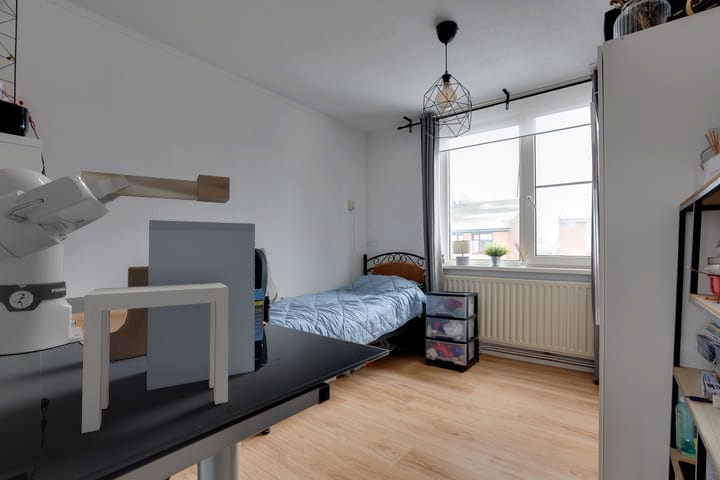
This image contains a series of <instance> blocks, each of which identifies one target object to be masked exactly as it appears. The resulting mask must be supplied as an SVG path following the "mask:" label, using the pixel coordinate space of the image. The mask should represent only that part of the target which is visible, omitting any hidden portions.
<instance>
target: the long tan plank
mask: <svg viewBox="0 0 720 480" xmlns="http://www.w3.org/2000/svg"><path fill="white" fill-rule="evenodd" d="M80 173H81V176H80V177H81V178H82V179H83V180H84V181H85V182H86V183H87V184H92V183H95V182H98V181H103V180H108V179H113V178H115V177H118V176H124V177H125V178H126V180H127V181H128V183H129V187H128V188H125V189H123V190H120V191H116V192H113V193H110V194H108V195H116V196H120V197H134V198H150V199H151V198H153V199H166V200H179V201H180V200H181V201H182V200H183V201H195V202H199V203H201V202H202V203H216V204H217V203H219V204H226V203H227V202H229V201H230V197H231V195H230V189H231V188H230V186H231V185H230V184H231V183H230V179H231V178H230V176H229V177H227V176H226V177H225V176H218V175H207V174H198V176H197V178H196V180H188V179H175V178H166V177H155V176H154V177H153V176H145V175H143V176H142V175H134V174H133V175H132V174H131V175H130V174H122V173H111V172H110V173H109V172H99V171H88V170H81V172H80Z"/></svg>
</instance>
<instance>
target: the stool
mask: <svg viewBox="0 0 720 480" xmlns="http://www.w3.org/2000/svg"><path fill="white" fill-rule="evenodd" d="M228 296H229V287H227V286H226V285H224V284H222V283H205V284H184V285H164V286H143V287H128V286H127V287H126V286H125V287H111V288H110V287H106V288H104V287H103V288H95V289H94V290H91V291H90V292H88V293H86V294H84V302H83V303H84V306H83V307H84V310H83V348H82V349H83V353H82V354H83V356H82V357H83V358H82V359H83V360H82V396H81V397H82V400H81V401H82V404H81V405H82V406H81V407H82V408H81V409H82V410H81V434H85V433H90V432H95V431H99V430H100V429H101V425H102V410H105V409H108V406H109V399H110V398H109V395H110V362H109V355H110V333H111V311H118V310H120V311H121V310H127V309H133V308H147V307H160V306H173V305H186V304H200V303H210V308H209V379H208V387H209V389H213V401H214V405H218V404H224V403H228V402H229V376H228Z"/></svg>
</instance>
